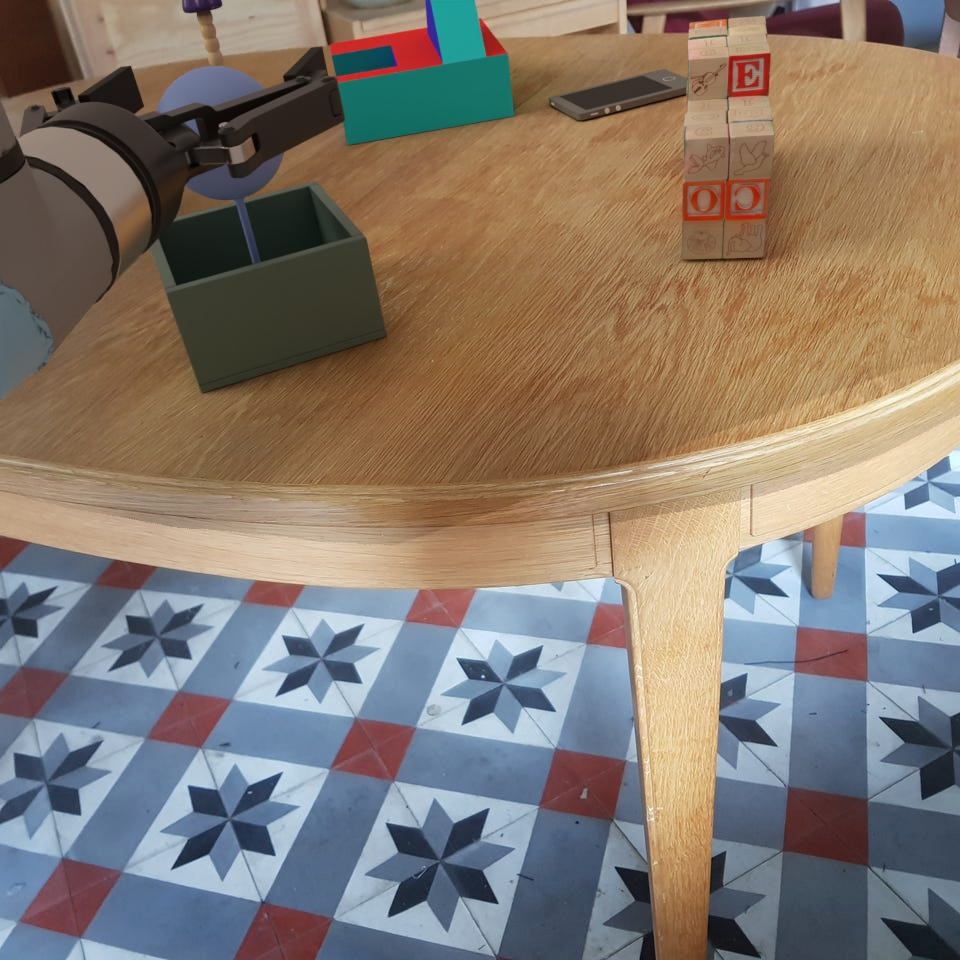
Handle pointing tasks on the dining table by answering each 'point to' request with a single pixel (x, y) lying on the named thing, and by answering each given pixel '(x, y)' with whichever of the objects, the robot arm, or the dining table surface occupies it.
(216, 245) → the toy bin
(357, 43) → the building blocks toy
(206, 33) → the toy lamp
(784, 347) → the dining table surface
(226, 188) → the baby rattle
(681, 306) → the dining table surface
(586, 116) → the smartphone
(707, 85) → the stack of blocks
